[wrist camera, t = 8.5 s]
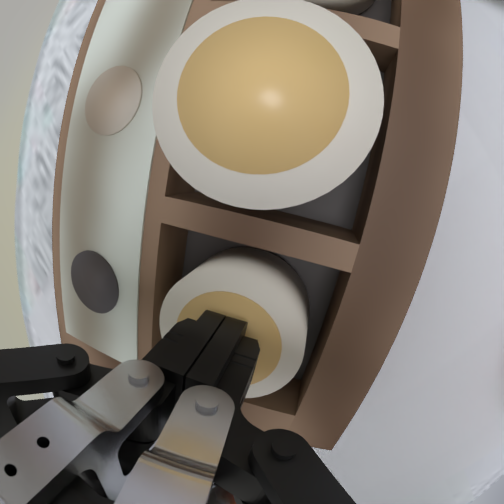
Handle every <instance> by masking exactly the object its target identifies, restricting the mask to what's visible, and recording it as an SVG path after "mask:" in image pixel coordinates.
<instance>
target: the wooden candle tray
mask: <svg viewBox="0 0 504 504" xmlns="http://www.w3.org/2000/svg"><path fill="white" fill-rule="evenodd" d="M235 1H238V0H98V2H97V4H96V7H95V9H94V12H93V14H92V17H91V19H90V22H89V24H88V27H87V30H86V33H85V36H84V39H83V42H82V45H81V48H80V51H79V54H78V57H77V61H76V64H75V68H74V71H73V75H72V79H71V83H70V87H69V91H68V95H67V100H66V105H65V109H64V115H63V120H62V126H61V131H60V138H59V145H58V152H57V160H56V170H55V180H54V194H53V217H52V250H53V274H54V288H55V299H56V308H57V316H58V324H59V331H60V337H61V343H62V344H65V343H67V344H74V345H78V346H80V347H81V348H83V349H84V350H85V351H86V352H87V354H88V356H89V361H90V364H93V365H98V366H102V367H106V368H111V369H114V368H115V367H117V366H118V365H119V364H121V363H122V362H125V361H128V360H135V359H138V360H142V359H143V358H144V357H145V355H146V354H147V353H148V352H149V351H150V350H151V349H152V348H153V347H154V346H155V345H156V344H157V343H158V342H159V341H160V340H161V339H162V337H161V332H160V311H161V307H162V304H163V301H164V299H165V297H166V295H167V294H168V292H169V291H170V289H171V288H172V287H173V286H174V285H175V284H176V283H177V282H178V281H180V280H181V279H182V278H184V277H185V276H186V275H188V274H189V273H190V272H192V271H193V270H194V269H195V268H197V267H198V266H199V265H201V264H202V263H203V262H205V261H206V260H207V259H209V258H210V257H212V256H213V255H215V254H217V253H219V252H221V251H224V250H226V249H231V248H237V247H249V248H256V249H261V250H264V251H267V252H269V253H271V254H274V255H276V256H277V257H279V258H281V259H282V260H284V261H285V262H286V263H287V264H288V265H290V266H291V267H292V268H293V269H294V271H295V272H296V273H297V274H298V276H299V277H300V278H301V280H302V282H303V284H304V286H305V288H306V291H307V294H308V298H309V304H310V314H309V322H308V330H307V337H306V344H305V351H304V357H303V360H302V363H301V366H300V368H299V370H298V371H297V373H296V374H295V376H294V377H293V378H292V379H291V380H290V381H289V382H288V383H287V384H286V385H285V386H283V387H282V388H280V389H279V390H277V391H275V392H273V393H270V394H268V395H264V396H261V397H255V398H245V400H244V402H243V405H242V407H241V411H242V414H243V415H244V417H245V418H246V419H247V420H248V421H249V422H250V423H251V424H252V425H254V426H255V427H257V428H259V429H261V430H262V431H267V430H270V429H286V430H290V431H293V432H295V433H297V434H299V435H300V436H302V437H303V438H304V439H305V440H306V441H307V442H308V444H309V445H310V446H311V447H316V448H321V449H326V450H332V448H333V447H334V445H335V444H336V442H337V441H338V440H339V438H340V437H341V435H342V433H343V432H344V430H345V429H346V427H347V426H348V424H349V423H350V421H351V419H352V418H353V416H354V415H355V413H356V411H357V410H358V408H359V406H360V405H361V403H362V401H363V400H364V398H365V396H366V394H367V393H368V391H369V389H370V387H371V385H372V384H373V382H374V380H375V378H376V376H377V374H378V372H379V371H380V369H381V367H382V365H383V363H384V361H385V359H386V357H387V355H388V353H389V351H390V349H391V347H392V344H393V342H394V340H395V338H396V336H397V334H398V332H399V329H400V327H401V325H402V323H403V320H404V318H405V316H406V313H407V311H408V308H409V306H410V304H411V301H412V299H413V296H414V294H415V291H416V288H417V286H418V283H419V280H420V278H421V275H422V272H423V269H424V266H425V263H426V260H427V257H428V254H429V251H430V248H431V245H432V242H433V239H434V235H435V232H436V228H437V225H438V221H439V218H440V214H441V210H442V206H443V202H444V198H445V194H446V189H447V185H448V180H449V176H450V171H451V166H452V160H453V155H454V149H455V142H456V136H457V128H458V121H459V112H460V101H461V88H462V67H463V36H462V16H461V3H460V0H375V1H374V2H373V4H372V5H371V6H370V7H369V8H368V9H366V10H365V11H364V12H362V13H360V14H358V15H354V14H350V13H345V12H341V11H335V10H330V9H327V10H329V11H330V12H332V13H334V14H336V15H337V16H339V17H340V18H341V19H343V20H344V21H345V22H346V23H348V24H349V25H350V26H351V27H352V28H353V29H354V30H355V31H356V32H357V33H358V34H359V35H360V36H361V38H362V39H363V40H364V42H365V43H366V44H367V46H368V47H369V49H370V51H371V53H372V54H373V56H374V58H375V60H376V63H377V66H378V68H379V71H380V74H381V79H382V84H383V92H384V107H383V117H382V121H381V125H380V129H379V132H378V135H377V137H376V140H375V142H374V144H373V146H372V148H371V150H370V151H369V153H368V155H367V156H366V158H365V160H364V161H363V162H362V163H361V164H360V166H359V167H358V168H357V169H356V170H355V172H354V173H352V174H351V175H350V176H349V177H348V178H347V179H346V180H345V181H344V182H343V183H341V184H340V185H338V186H337V187H335V188H334V189H333V190H331V191H330V192H328V193H326V194H324V195H322V196H320V197H318V198H316V199H314V200H311V201H309V202H306V203H303V204H300V205H297V206H292V207H287V208H283V209H271V210H256V209H246V208H240V207H234V206H231V205H228V204H225V203H221V202H219V201H217V200H214V199H212V198H210V197H208V196H206V195H204V194H203V193H201V192H200V191H198V190H196V189H195V188H193V187H192V186H191V185H190V184H189V183H187V182H186V181H185V180H184V179H183V178H182V177H181V176H180V175H179V174H178V173H177V172H176V171H175V170H174V168H173V167H172V165H171V164H170V163H169V161H168V160H167V158H166V156H165V154H164V153H163V151H162V149H161V147H160V144H159V141H158V139H157V136H156V132H155V128H154V123H153V113H152V101H153V91H154V86H155V81H156V78H157V75H158V72H159V69H160V67H161V65H162V62H163V60H164V58H165V56H166V55H167V53H168V52H169V50H170V48H171V47H172V45H173V44H174V43H175V42H176V40H177V39H178V38H179V37H180V36H181V34H182V33H183V32H185V31H186V30H187V29H188V28H189V27H190V26H191V25H192V24H193V23H195V22H196V21H197V20H198V19H200V18H201V17H203V16H204V15H206V14H208V13H209V12H211V11H213V10H215V9H217V8H219V7H221V6H224V5H226V4H229V3H232V2H235Z"/></svg>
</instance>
